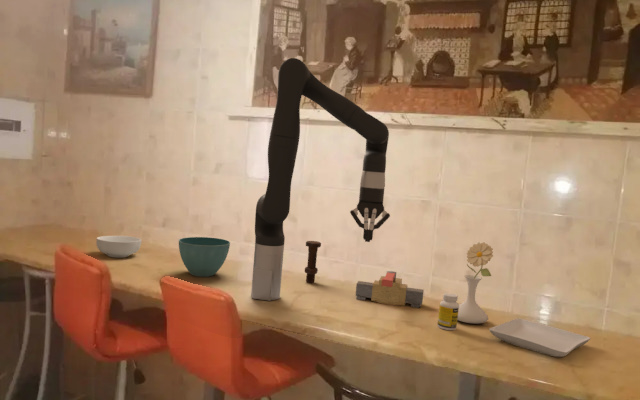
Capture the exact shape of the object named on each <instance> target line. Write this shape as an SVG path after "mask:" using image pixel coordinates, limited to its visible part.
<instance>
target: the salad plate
mask: <svg viewBox="0 0 640 400" xmlns="http://www.w3.org/2000/svg"><path fill="white" fill-rule="evenodd" d="M488 330H489V332H490V333H491V334H492V336H493V337H495V338H497V339H499V340H501V341H503V342H504V343H507V344H510V343H511V344H510V345H513V346H516V345H517V347H519V346H520V348H524V349H525V350H526V349H527V350H529V349H530V351H534V352H536V351H537V353H539V354H540V353H541V354H544V355H546V354H547V356H550V355H551V356H552V357H557V358H563V357H566V356H567V355H568V354H569V353H571V352H572V351H574V350H576V349H577V348H579V347H581V346H583V345H585V344H587V343H588V342H589V341H590V340H591V337H589V336H587V335H583V334H580V333H576V332H572V331H569V330H566V329H562V328H557V327H555V326H551V325H546V324H543V323H539V322H535V321H532V320H528V319H524V318H519V317H517V318H514V319H511V320H509V321H505V322H503V323H500V324H498V325H496V326H492V327H490V328H488Z"/></svg>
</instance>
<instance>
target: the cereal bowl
mask: <svg viewBox="0 0 640 400" xmlns="http://www.w3.org/2000/svg"><path fill="white" fill-rule="evenodd" d="M95 241H96V242H95V244H96V248H97V249H98V250H99V252H101V253H103V254H105V255H106V256H107V257H109V258H114V259H115V258H122V259H123V258H128V257H129V256H131V255H133V254H136V253H137V252H139V250H140V249H141V245H142V238H139V237H136V236H130V235H101V236H97V237H96V240H95Z"/></svg>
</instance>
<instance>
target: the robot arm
mask: <svg viewBox="0 0 640 400" xmlns="http://www.w3.org/2000/svg"><path fill="white" fill-rule="evenodd" d="M278 69H279V70H278V74H277V96H276V103H275V109H274V113H273V118H272V123H271V126H270V127H271V129H270V133H269V140H268V145H267V164H268V180H267V187H266V190H265V193H264V194H262V195H261V196H260V197H259V198H258V200H257V202H256V208H255V217H254V220H255V221H254V235H255V238H254V239H255V240H254V254H253V268H252V277H251V278H252V279H251V291H250V293H251V294H250V296H251V299H255V300H260V301H261V300H262V301H269V302H270V301H274V300H275V301H276V300H279V299H280V298H281V287H282V274H283V263H284V262H283V261H284V252H285V251H284V250H285V238H286V237H285V233H284V221H285V220H286V219H287V218H288V216H289V214H290V209H291V208H290V207H291V189H292V180H293V174H294V170H295V164H296V161H297V160H296V159H297V154H298V149H299V144H300V143H299V142H300V137H301V135H300V134H301V114H300V113H301V112H300V109H301V107H300V106H301V101H302V97H305V98H306V99H307V98H308V99H309V100H310V101H312V102H314V103H316V104H317V105H319V107H320V108H322V109H324V111H326V112H327V113H329V114H330V115H331V116H333V117H334V118H335V119H336V120H338V121H339V122H340V123H342V124H343V125H345V126H346V127H348V128H350V129H351V130H353V131H355V132H356V133H357V134H358V135H360V137H362V138H363V139H365V140H366V141H365V151H364V152H365V154H364V157H363V162H362V173H361V176H360V177H361V178H360V182H359V183H360V184H359V185H360V186H359V196H358V197H359V198H358V203H357V204H356V207H354V208H353V209H351V210H349V213H350V216H351V217H352V218H353V220H354V221H355V223H356V224H357V226H358V227H359V228H362V229H363V235H362V236H363V237H362V238H363V240H364V241H365V242H367V243H370V242H371V241H373V238H374V237H373V234H374V230H379V229H380V228H381V226H382V225H384V223H386V221H387V220H388V219H389V218H390V217H391V214H390V213H389V212H387V211H386V210H385V205H384V199H385V198H384V197H385V188H386V168H387V167H386V166H387V151H388V146H389V145H388V144H389V137H390V131H389V128H388V126H387V125H386V124H385V123H383V122H382V121H381V120H379V119H378V118H376V117H374V116H373V115H371V114H370V113H368V112H367V111H365V110H364V109H363V108H362V107H360V106H359V105H357V104H356V103H355V102H354V101H352V100H350V99H349V98H347V97H346V96H344V95H342V94H340V93H339V92H337V91H335V90H333V89H331V88H329V86H327V85H326V84H324V83H323V82H321V80H319V79H318V78H317V77H316V76H315V75H314V74H313V73H312V72H311V71H310V69H309V67H307V65H306V64H305V63H304V61H302V60H301V59H299V58H297V57H290V58H287V59H286V60H285V61H283V62H282V63H281V65H280V66H279V68H278ZM358 214H360V215H361V217H362V218H363V222H362V221H361V219H360V218H359V217H358ZM380 216H381V218H380V219H379V220H378V222H376V220H377V219H378V218H379V217H380ZM369 219H370V221H369ZM375 222H376V223H375Z"/></svg>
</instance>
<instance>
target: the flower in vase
mask: <svg viewBox="0 0 640 400" xmlns="http://www.w3.org/2000/svg"><path fill="white" fill-rule="evenodd" d="M493 249H494V248H493V247H492V246H491V245H489V244H488V243H486V242H481V243H480V242H477V243H476V244H475V243H473V244H472V245H471V246H470V247H469V249H468V250H467V252H466V258H467V259H466V261H467V263H466V266H467V267H468V268H469V269H470V270H471V271H472V272H474V273H475V275H473V274H472V275H471V274H466V275H464V277H465V279H466V281H467V295H466V299H465V300H463V302H462V303H459V310H458V318H457V321H460V322H463V323H466V324H477V325H479V324H483V323H487V321H488V320H489V317H488V314H487V313H486V311H485V310H484V309H483V308H482V307H480V305H479V304H478V303H477V301H476V292H477V291H476V290H477V288H478V287H477V286H478V284H479V282H480V281H481V280H482V279H483V278H482V277H492V274H491V271H490V270H489V268H487V267H485V268H483V266H486V265H487V264H488V263H489V262H490V261H491V259H492V258H493V257H494V254H493V253H494V251H493ZM468 263H469V264H470V265H472V266H473V267H475V268H476V267H479V266H480V269H479V270H478V272H476V270H475V269H473V268H472V267H471V266H470V265H469V264H468ZM479 273H480V274H481V276H482V277H481V276H478V274H479Z"/></svg>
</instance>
